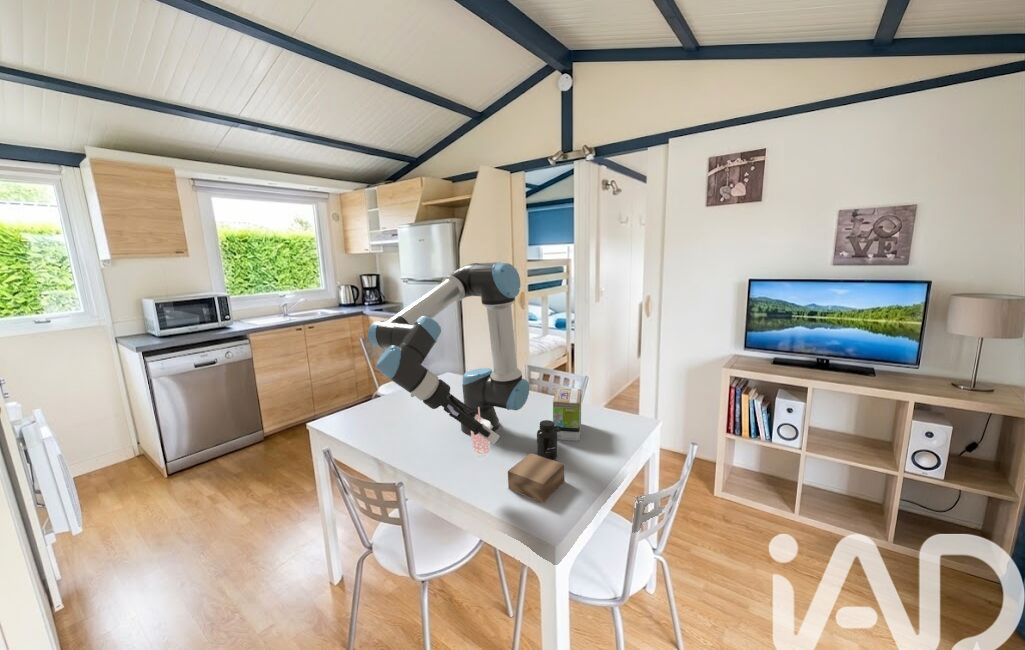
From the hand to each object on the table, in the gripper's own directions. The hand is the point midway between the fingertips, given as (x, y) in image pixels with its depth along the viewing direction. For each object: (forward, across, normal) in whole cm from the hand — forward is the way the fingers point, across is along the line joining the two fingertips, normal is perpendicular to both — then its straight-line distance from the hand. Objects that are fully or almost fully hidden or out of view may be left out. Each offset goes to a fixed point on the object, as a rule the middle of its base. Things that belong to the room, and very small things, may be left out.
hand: (492, 434), depth 113 cm
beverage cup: (+1, 0, -6) cm, 6 cm away
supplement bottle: (+27, -10, +3) cm, 29 cm away
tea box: (+38, -24, +13) cm, 46 cm away
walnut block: (+20, +3, -4) cm, 21 cm away
